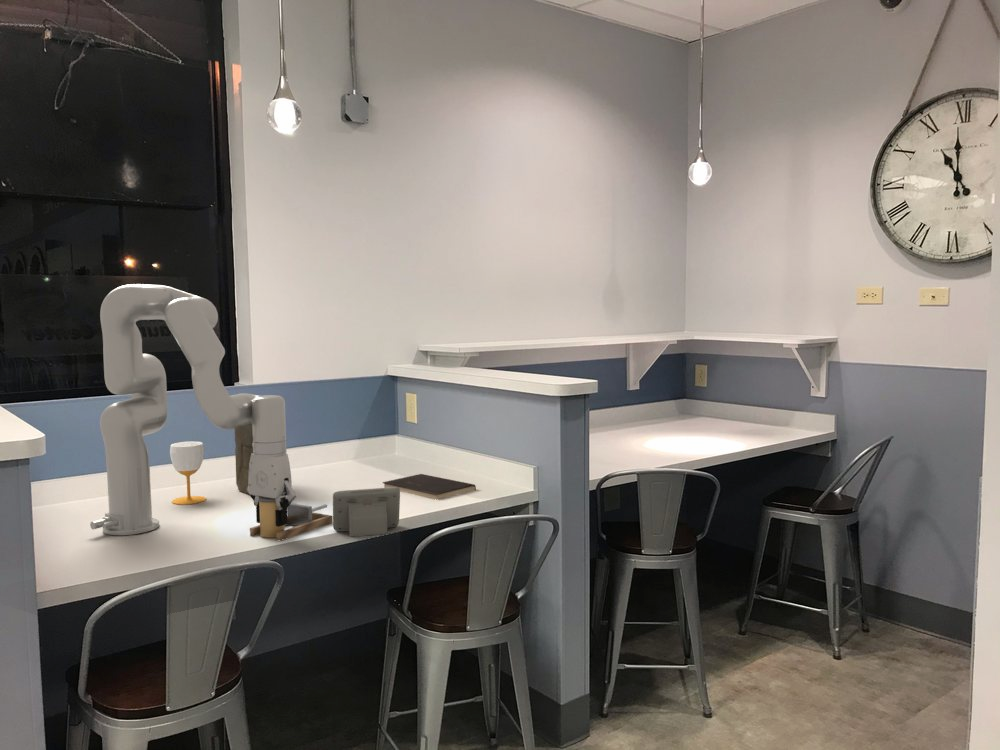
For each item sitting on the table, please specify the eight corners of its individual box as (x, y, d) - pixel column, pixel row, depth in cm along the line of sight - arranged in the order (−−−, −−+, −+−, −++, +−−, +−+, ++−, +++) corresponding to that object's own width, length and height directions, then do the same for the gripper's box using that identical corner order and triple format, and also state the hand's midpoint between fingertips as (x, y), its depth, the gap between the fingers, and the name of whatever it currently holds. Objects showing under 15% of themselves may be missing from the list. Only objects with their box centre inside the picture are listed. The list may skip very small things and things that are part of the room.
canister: (288, 496, 232) (286, 409, 230) (260, 501, 226) (257, 412, 224) (260, 485, 246) (257, 403, 244) (233, 490, 241) (230, 406, 238)
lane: (279, 541, 189) (279, 533, 189) (250, 535, 194) (249, 528, 193) (332, 522, 204) (332, 515, 204) (303, 517, 209) (303, 510, 209)
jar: (272, 538, 189) (271, 500, 189) (254, 535, 192) (253, 497, 192) (290, 532, 194) (289, 495, 194) (272, 529, 197) (271, 492, 197)
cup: (191, 505, 222) (189, 447, 221) (164, 503, 225) (161, 446, 224) (213, 498, 231) (211, 442, 229) (186, 495, 234) (184, 440, 232)
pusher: (308, 527, 199) (308, 507, 198) (287, 523, 202) (287, 504, 202) (337, 517, 208) (336, 498, 207) (316, 514, 211) (315, 495, 211)
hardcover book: (436, 502, 227) (436, 493, 227) (382, 489, 242) (382, 482, 242) (476, 491, 239) (476, 484, 238) (422, 480, 254) (422, 473, 254)
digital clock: (401, 525, 202) (400, 483, 201) (399, 536, 193) (398, 491, 192) (335, 527, 201) (334, 484, 200) (330, 537, 192) (328, 493, 191)
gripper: (231, 447, 193) (234, 522, 194) (284, 454, 184) (287, 532, 186) (255, 442, 199) (258, 515, 201) (308, 448, 190) (310, 524, 192)
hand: (272, 522), depth 193 cm, fingers closed on jar, 5 cm apart
